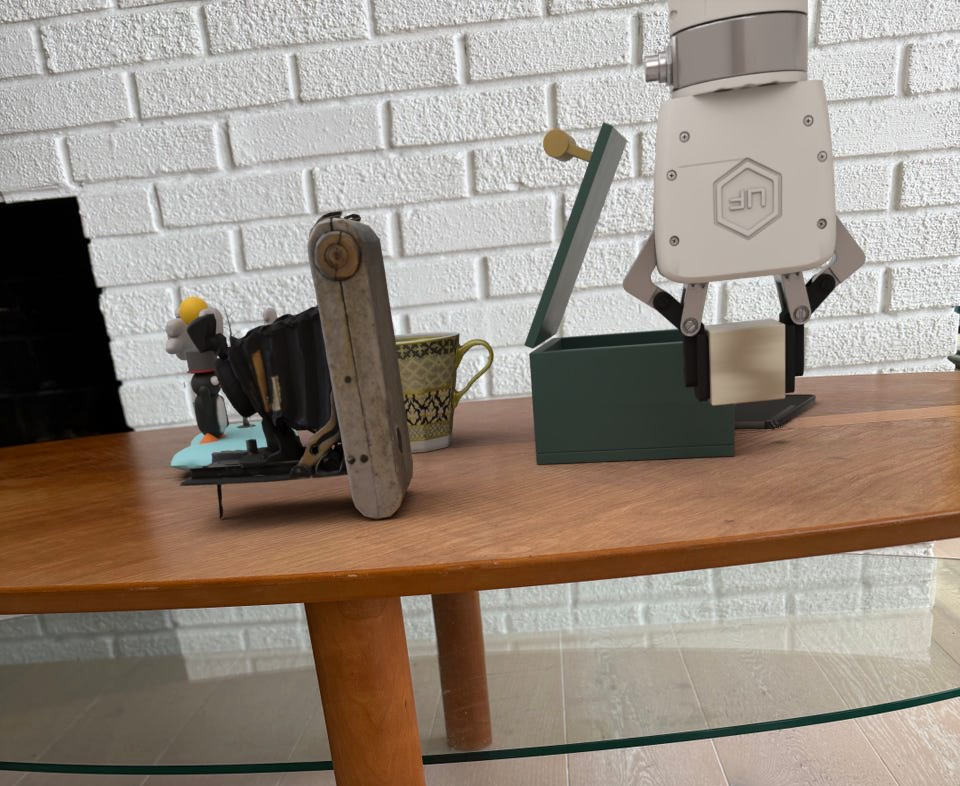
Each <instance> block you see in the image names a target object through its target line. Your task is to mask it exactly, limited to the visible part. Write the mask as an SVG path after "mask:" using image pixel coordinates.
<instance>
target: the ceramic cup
mask: <svg viewBox="0 0 960 786" xmlns="http://www.w3.org/2000/svg"><path fill="white" fill-rule="evenodd" d="M460 338H461V337H460V333H459V332H457V331H425V332H415V333H414V332H413V333H403V334H395V340H396V348H397V355H398V363H399V370H400V377H401V384H402V390H403V396H404V403H405V410H406V417H407V424H408V431H409V439H410V446H411V454H414V453H426V452H431V451H435V450H441V449H446V448H449V446H450V445H451V444H452V441H453V429H454V416H455V409H456V408H457V407H458V405H459V402H460V400H461V399H462V397H463V396H464V395H466V393H467V392H468V391H470V389H471V388H472V386H473V384H475V382H476V381H477V380H479V379H480V377H482V376H483V375H484V374H485V373H487V371H489V369H490V368H491V366H492V364H493V362H494V359H495V358H494V357H495V356H494V355H495V353H494V350H493V347H492V346H491V344H490V343H489V342H487V340H484V339H482V338H481V339H480V338H474V339H471V340H469V341H468V340H467V341H466V342H465V343H463V344H462V345H461V344H460ZM475 346H482V347H485V348H486V350H487V351H488V354H489V357H488V361H487V363H486V364H485V366H484V367H482V368H481V370H479V371H478V372H477V373H476V374H475V375H473V377H472V378H470V380H469V381H468V383H467V384H466V385H465V387H463V389H461V390H457V389H456V387H457V376H458V375H457V374H458V368H459V366H460V365H461V362H462V360H463V358H464V356H465V355H466V354H467V352H468V351H470V350H471V349H472V348H473V347H475Z"/></svg>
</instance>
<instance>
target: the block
mask: <svg viewBox="0 0 960 786" xmlns="http://www.w3.org/2000/svg"><path fill="white" fill-rule="evenodd" d="M704 329H705V334H706V335H707V336H708V338H709V367H710V399H708V401H709V402H710V403H711V404H712V405H713V406H715V405H726V404H736V403H746V402H757V401H767V400H777V399H784V398H785V394H786V393H785V324H783V323H781V322H779V320H776V319H774V318H763V319H753V320H742V321H733V322H726V323H725V322H723V323H715V324H704Z"/></svg>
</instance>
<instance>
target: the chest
mask: <svg viewBox="0 0 960 786" xmlns="http://www.w3.org/2000/svg"><path fill="white" fill-rule="evenodd" d="M528 355H529V371H530V372H529V373H530V386H531V399H532V400H531V403H532V415H533V417H532V418H533V429H534V430H533V432H534V444H535V445H534V447H535V448H534V449H535V462H536V465H538V466H539V465H559V464H583V463H604V462H607V463H608V462H626V461H627V460H631V461H653V460H675V459H676V460H677V459H697V458H700V459H701V458H721V457H735V447H736V446H735V444H736V443H735V439H736V438H735V434H736V432H735V431H736V430H735V404H726V405H715V406H713V405H712V404H711V403H710V402H709V401H703V402H699V401H698V400H697V398H696V397H695V394H694V387H687V388H686V387H685V384H684V368H683V340H682V332H681V331H679V330H678V329H677V328H670V329H669V328H668V329H656V330H641V331H629V332H615V333H613V332H612V333H600V334H586V335H575V336H574V335H572V336H559V337H558V336H557V337H551V338H550V339H548V340H547V341H545V342H544V343H542V345H539V347H536V348H534V350H532V351H531V352H529V354H528Z"/></svg>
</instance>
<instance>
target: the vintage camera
mask: <svg viewBox="0 0 960 786" xmlns="http://www.w3.org/2000/svg"><path fill="white" fill-rule="evenodd" d="M343 212H344V211H343V210H337V211H331V212H328V213H325V214H322V216H320V217H319V218H318V219H317V220H316V222H315V223H314V225H313V227H310V230H309V233H308V234H309V235H308V241H307V245H306V246H307V258H308V265H309V268H310V273H311V278H312V282H313V287H314V292H315V298H316V305H315V306H311V307H309V308H307V309H305V310H303V311H301V312H299V313H296V314H291V313H285V314H282V315H280V316H279V317H277V319H276V320H275V321H274V322H273V323H272V324H269V325H264V324H261V325H257V326H255V327H253V328H251V329H249V330H248V331H246V333H245V335H244V336H242V337H239V338H238V337H235V336H233V335H232V336H231V337H230V336H229V337H230V338H229V337H228V340H229V339H230V340H229V343H230V342H231V345H230V346H228V345H229V344H228V341H227V336H225V334H224V335H223V334H221V333H218V334H216V318H215V316H214V313H212V314H205V315H203V316H200V317H198V318H196V319H194V320H193V321H192V322H191V323H190V324H189V326H188V327H187V333H188V335H189V337H190V339H191V340H192V342H193V343H194V345H195V346H196V348H197V349H198V350H199V352H200V353H204V352H207V351H214V353H215V356H217V357H218V359H216V360H215V361H214V370H215V374H216V376H217V379H218V381H219V384H220V386H221V391H222V393H223V394H224V395H225V397H226V398H227V400H228V402H229V403H230V405H231V406H232V408H233V409H234V410H235V411H236V412H237V413H238V414H239V416H241V417H242V418H243V417H244V418H247V419H250V418H249V417H250V416H251V417H253V416H254V415H259V416H260V417H261V421H260V422H261V424H262V429H263V432H264V435H265V438H266V442H267V447H261V448H257V442H256V439H249V440H246V447H247V450H234V451H230V450H227V451H221V452H213V453H212V463H211V464H209V465H207V466H203V468H193V469H190V471H189V472H190V477H188V478H187V479H185V480H183V481H182V482H180V483H179V487H193V486H197V487H198V486H216V493H217V499H218V513H219V520H221V519H222V518H223V517H224V507H223V503H222V502H223V493H222V491H223V490H222V485H239V484H240V485H241V484H258V483H272V482H273V483H274V482H275V483H276V482H287V481H297V480H310V479H311V480H312V479H324V478H326V479H327V478H333V477H334V478H335V477H343V476H347V479H348V484H349V490H350V498H351V499H352V502H353V504H354V507H355V509H357V510H358V511H359V513H361V515H362V516H363V517H366V518H367V517H368V518H370V519H374V520H376V521H377V520H380V519H385V518H390V517H392V516H393V515H394V514H395V512H396V511H397V510H398V509H400V507H401V505H402V502H403V500H404V499H405V496H406V493H407V491H408V488H409V486H410V485H411V481H412V479H413V475H414V461H413V456H412V454H413V453H411V446H410V439H409V431H408V424H407V417H406V410H405V403H404V396H403V390H402V384H401V377H400V370H399V363H398V355H397V348H396V340H395V335H396V334H395V329H394V321H393V316H392V315H393V314H392V310H391V302H390V296H389V288H388V283H387V275H386V268H385V263H384V255H383V249H382V244H381V239H380V237H379V236H378V235H377V234H376V232H375V231H374V230H373V228H372V227H371V226H370V225H369V224H366V223H364V222H361V220H362V217H361V214H358V213H350V214H348V215H346V216H343V217H342V215H343ZM293 429H294V430H296V431H297V432H300V431H302V432H303V431H308V432H310V433H312V435H311V437H310V438H309V440H308V442H307V443H306V446H303V444H302V442H301V437H300V435H297V436H296V434H295V432H294V430H293Z"/></svg>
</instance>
